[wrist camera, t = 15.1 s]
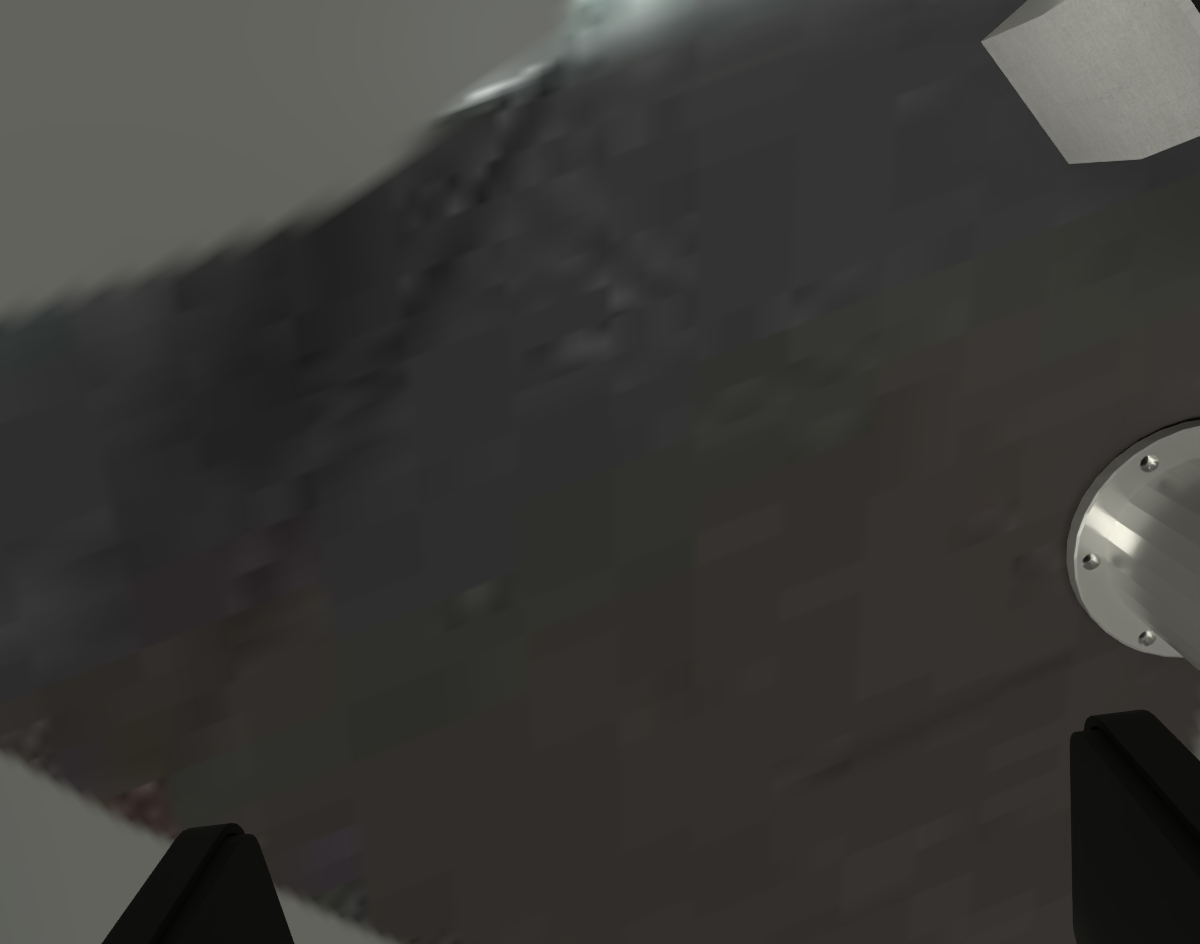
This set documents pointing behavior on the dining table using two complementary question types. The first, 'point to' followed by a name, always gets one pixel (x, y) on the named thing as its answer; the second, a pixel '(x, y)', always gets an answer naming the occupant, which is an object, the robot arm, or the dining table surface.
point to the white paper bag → (1105, 73)
